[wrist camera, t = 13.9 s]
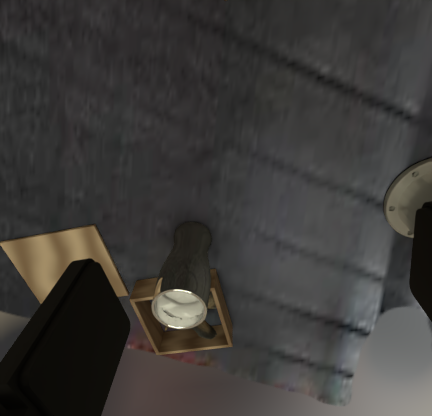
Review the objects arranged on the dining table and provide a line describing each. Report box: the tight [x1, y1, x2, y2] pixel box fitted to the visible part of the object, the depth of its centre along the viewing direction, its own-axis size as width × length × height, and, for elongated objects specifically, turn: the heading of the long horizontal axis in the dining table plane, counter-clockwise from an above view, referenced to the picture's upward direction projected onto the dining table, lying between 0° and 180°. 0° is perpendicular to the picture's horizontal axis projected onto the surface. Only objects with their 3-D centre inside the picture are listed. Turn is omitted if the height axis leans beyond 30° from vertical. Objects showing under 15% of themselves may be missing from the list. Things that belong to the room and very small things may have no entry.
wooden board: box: [0, 224, 129, 304], centre depth 53 cm, size 17×15×1 cm
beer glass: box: [151, 222, 212, 329], centre depth 43 cm, size 7×7×15 cm
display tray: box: [129, 269, 232, 355], centre depth 55 cm, size 14×14×4 cm
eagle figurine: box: [165, 292, 217, 339], centre depth 54 cm, size 8×7×9 cm
